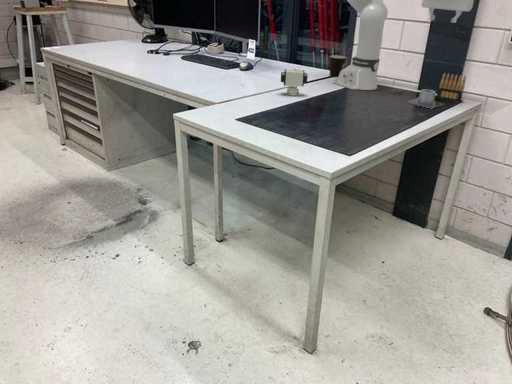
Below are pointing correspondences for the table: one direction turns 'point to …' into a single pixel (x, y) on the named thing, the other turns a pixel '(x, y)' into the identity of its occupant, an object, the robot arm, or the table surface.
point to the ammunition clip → (451, 88)
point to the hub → (427, 96)
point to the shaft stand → (431, 106)
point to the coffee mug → (336, 65)
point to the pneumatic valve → (293, 80)
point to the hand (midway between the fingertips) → (442, 21)
